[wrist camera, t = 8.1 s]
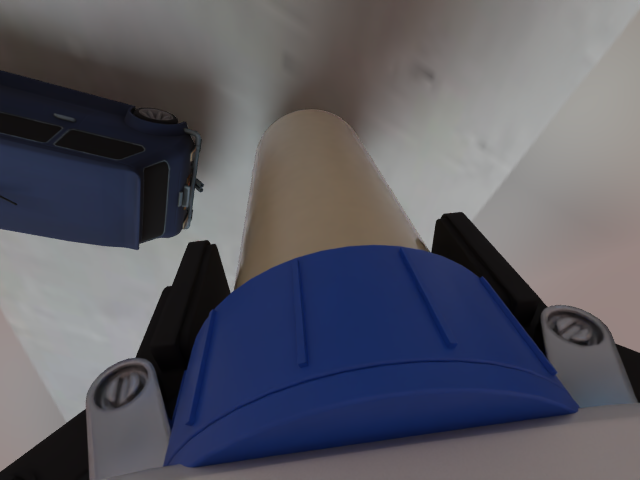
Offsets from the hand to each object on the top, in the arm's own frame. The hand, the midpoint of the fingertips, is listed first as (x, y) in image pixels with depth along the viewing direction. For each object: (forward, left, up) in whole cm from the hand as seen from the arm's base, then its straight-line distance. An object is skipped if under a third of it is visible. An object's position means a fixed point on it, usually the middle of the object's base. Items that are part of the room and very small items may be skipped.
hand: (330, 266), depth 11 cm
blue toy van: (-11, -1, -9) cm, 14 cm away
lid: (0, 0, +4) cm, 4 cm away
